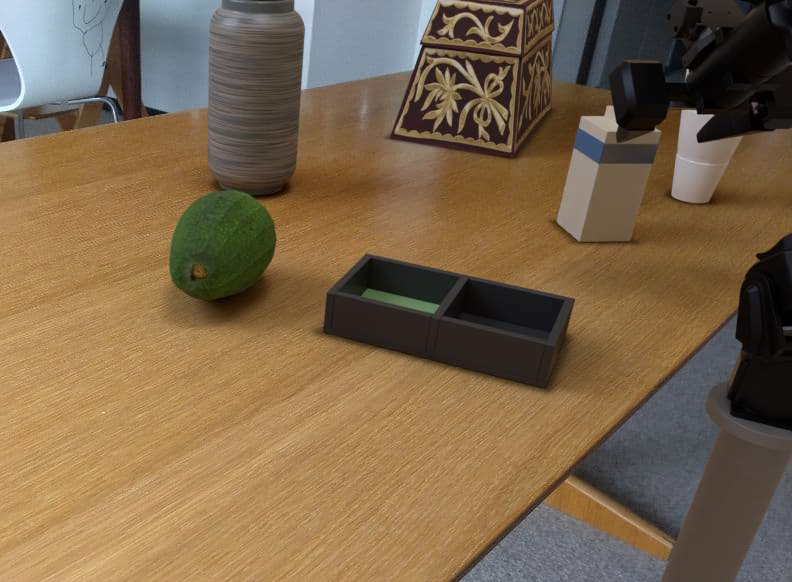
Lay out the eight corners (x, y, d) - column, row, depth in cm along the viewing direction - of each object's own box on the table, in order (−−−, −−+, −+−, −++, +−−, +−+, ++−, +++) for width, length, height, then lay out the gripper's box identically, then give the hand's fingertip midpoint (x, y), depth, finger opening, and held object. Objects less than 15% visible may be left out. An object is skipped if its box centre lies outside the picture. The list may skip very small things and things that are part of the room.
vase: (227, 203, 110) (232, 5, 98) (194, 175, 119) (195, -10, 107) (309, 194, 114) (324, 2, 102) (272, 168, 123) (281, -12, 111)
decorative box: (446, 94, 165) (464, -24, 155) (551, 109, 159) (577, -14, 148) (389, 138, 138) (406, -2, 128) (513, 158, 132) (542, 12, 121)
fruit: (234, 336, 80) (237, 233, 75) (138, 314, 83) (134, 213, 78) (290, 275, 92) (296, 182, 87) (204, 258, 95) (205, 167, 90)
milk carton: (630, 241, 105) (665, 120, 97) (578, 242, 104) (609, 120, 96) (605, 221, 110) (636, 105, 102) (555, 222, 109) (583, 105, 101)
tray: (565, 337, 83) (575, 298, 80) (544, 388, 75) (555, 346, 72) (361, 290, 90) (366, 253, 88) (322, 332, 82) (326, 292, 80)
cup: (679, 212, 114) (724, 67, 104) (633, 185, 123) (671, 49, 113) (750, 209, 116) (801, 67, 106) (699, 183, 125) (742, 49, 115)
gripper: (834, -28, 81) (725, 72, 96) (646, -34, 78) (564, 70, 93) (860, 80, 78) (744, 165, 93) (667, 78, 76) (579, 165, 91)
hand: (658, 138), depth 93 cm, fingers open, 9 cm apart
